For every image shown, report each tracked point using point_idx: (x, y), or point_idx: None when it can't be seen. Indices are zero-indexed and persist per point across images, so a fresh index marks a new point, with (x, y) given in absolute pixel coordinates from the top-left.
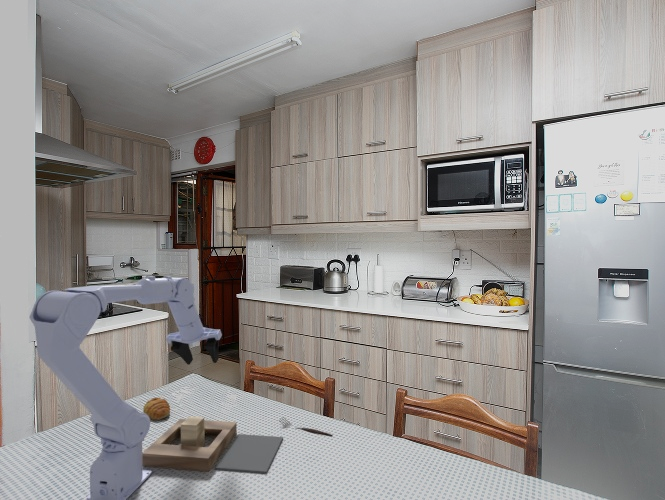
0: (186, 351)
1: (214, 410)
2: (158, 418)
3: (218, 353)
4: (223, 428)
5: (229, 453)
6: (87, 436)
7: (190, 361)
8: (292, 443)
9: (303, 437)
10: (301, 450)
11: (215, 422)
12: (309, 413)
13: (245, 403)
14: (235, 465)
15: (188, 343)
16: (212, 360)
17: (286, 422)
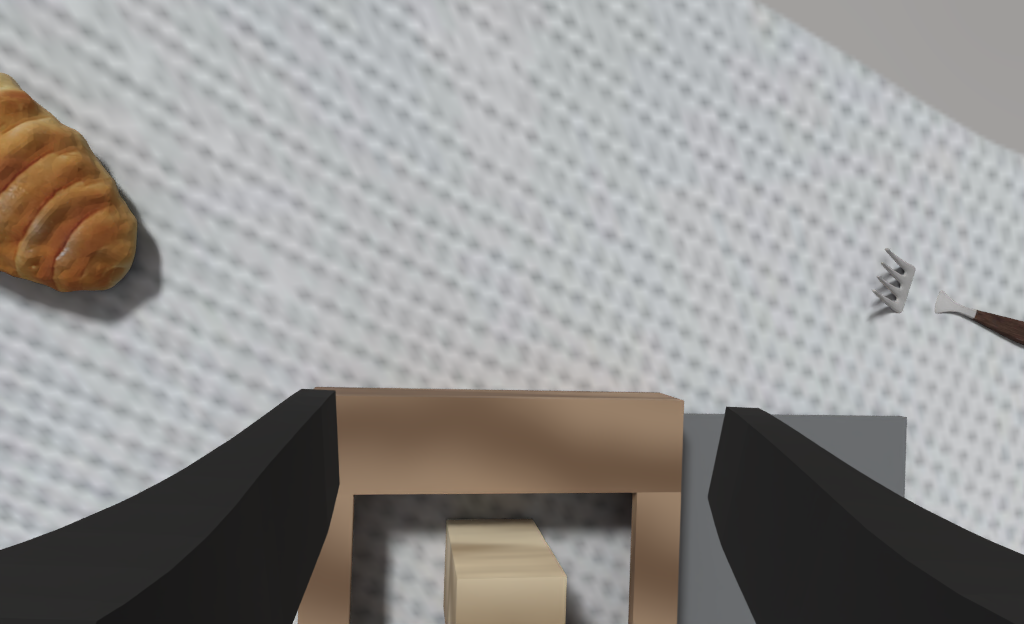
0: (262, 592)
1: (419, 132)
2: (94, 290)
3: (802, 437)
4: (635, 480)
5: (698, 593)
6: None
7: (333, 464)
8: (950, 451)
9: (990, 393)
10: (998, 503)
11: (559, 417)
12: (981, 144)
13: (586, 26)
14: None
15: (211, 526)
16: (725, 549)
17: (896, 275)
